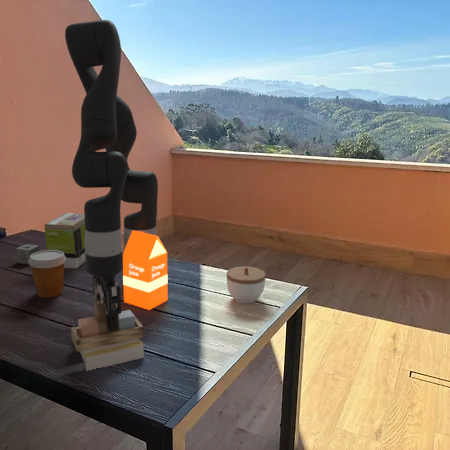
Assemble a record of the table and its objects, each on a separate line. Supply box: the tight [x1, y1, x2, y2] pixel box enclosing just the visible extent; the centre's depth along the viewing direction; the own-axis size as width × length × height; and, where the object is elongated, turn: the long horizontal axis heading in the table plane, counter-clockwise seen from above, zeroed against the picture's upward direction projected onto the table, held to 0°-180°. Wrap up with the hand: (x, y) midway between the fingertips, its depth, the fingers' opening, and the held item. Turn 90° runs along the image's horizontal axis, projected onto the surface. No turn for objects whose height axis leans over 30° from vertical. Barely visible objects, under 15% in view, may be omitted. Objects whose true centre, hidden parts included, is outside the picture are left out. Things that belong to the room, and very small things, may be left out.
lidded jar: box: [226, 266, 267, 305], centre depth 130 cm, size 11×11×9 cm
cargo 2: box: [119, 309, 136, 330], centre depth 103 cm, size 3×3×3 cm
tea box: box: [44, 212, 86, 269], centre depth 155 cm, size 15×10×15 cm, turn 172°
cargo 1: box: [77, 316, 99, 338], centre depth 99 cm, size 3×3×3 cm
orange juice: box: [122, 230, 169, 311], centre depth 123 cm, size 8×9×20 cm
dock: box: [79, 338, 145, 372], centre depth 102 cm, size 12×12×3 cm
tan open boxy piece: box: [70, 298, 144, 353], centre depth 101 cm, size 14×6×8 cm, turn 118°
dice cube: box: [15, 243, 41, 266], centre depth 155 cm, size 5×5×5 cm
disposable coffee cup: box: [28, 249, 66, 299], centre depth 128 cm, size 10×10×12 cm
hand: (107, 321), depth 101 cm, fingers open, 8 cm apart
